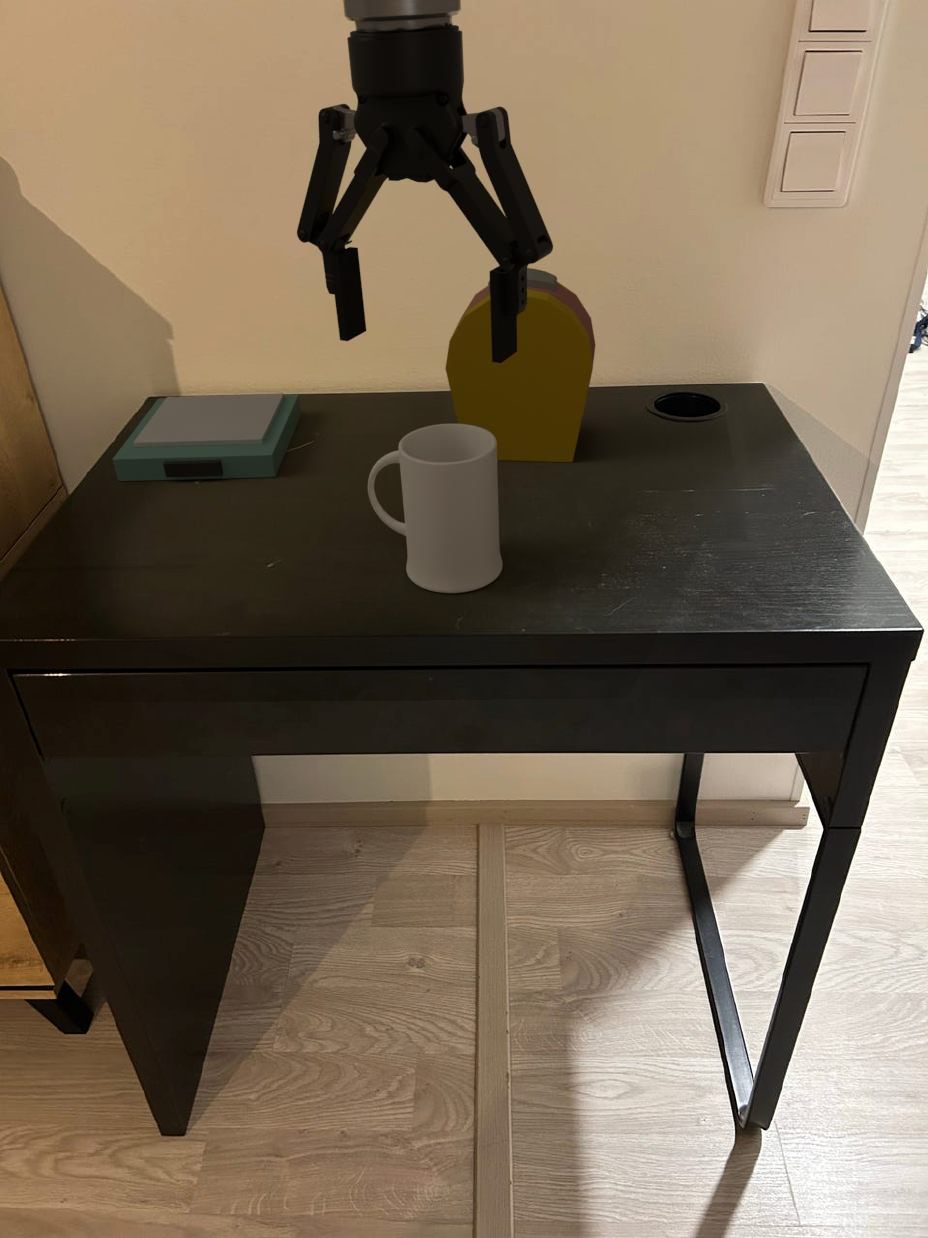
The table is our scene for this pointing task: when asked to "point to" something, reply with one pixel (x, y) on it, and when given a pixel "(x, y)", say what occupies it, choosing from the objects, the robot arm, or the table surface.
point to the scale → (210, 438)
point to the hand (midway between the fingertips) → (426, 346)
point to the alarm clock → (526, 373)
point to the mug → (447, 506)
